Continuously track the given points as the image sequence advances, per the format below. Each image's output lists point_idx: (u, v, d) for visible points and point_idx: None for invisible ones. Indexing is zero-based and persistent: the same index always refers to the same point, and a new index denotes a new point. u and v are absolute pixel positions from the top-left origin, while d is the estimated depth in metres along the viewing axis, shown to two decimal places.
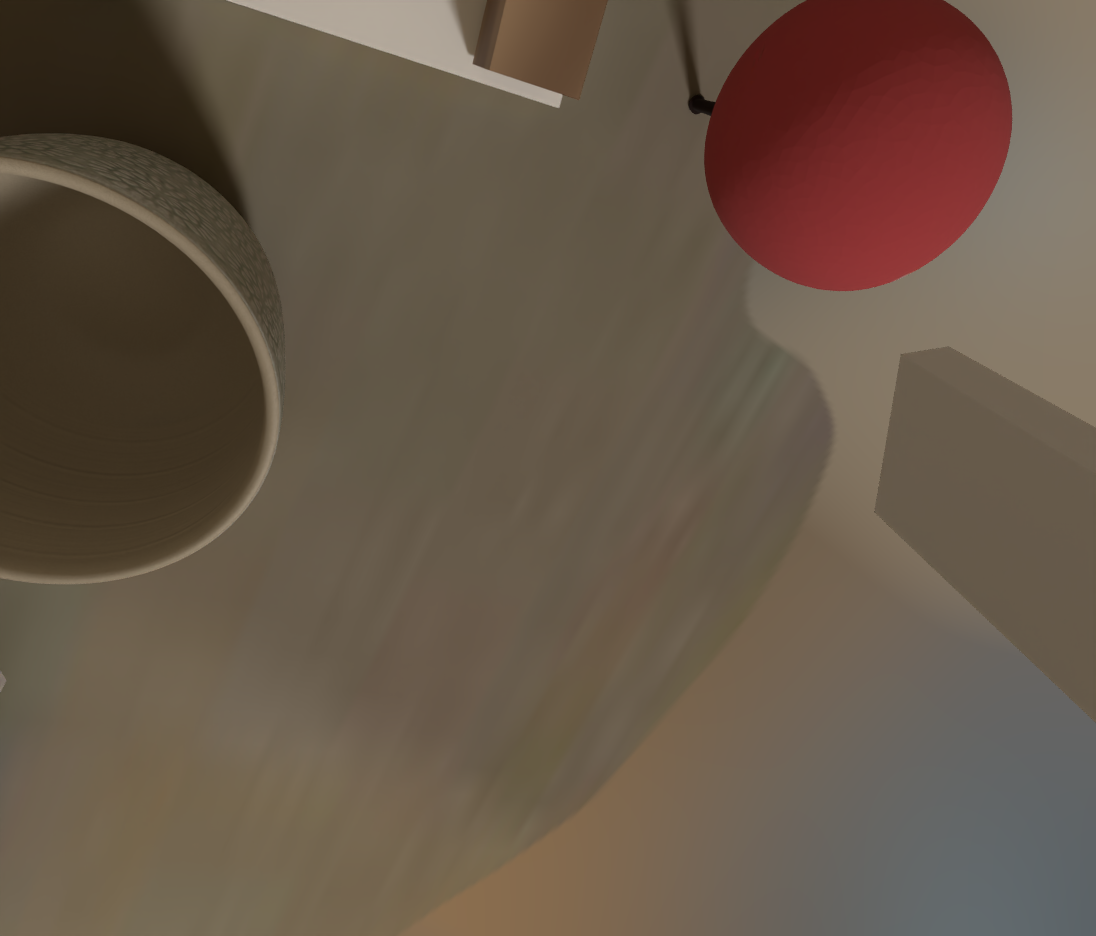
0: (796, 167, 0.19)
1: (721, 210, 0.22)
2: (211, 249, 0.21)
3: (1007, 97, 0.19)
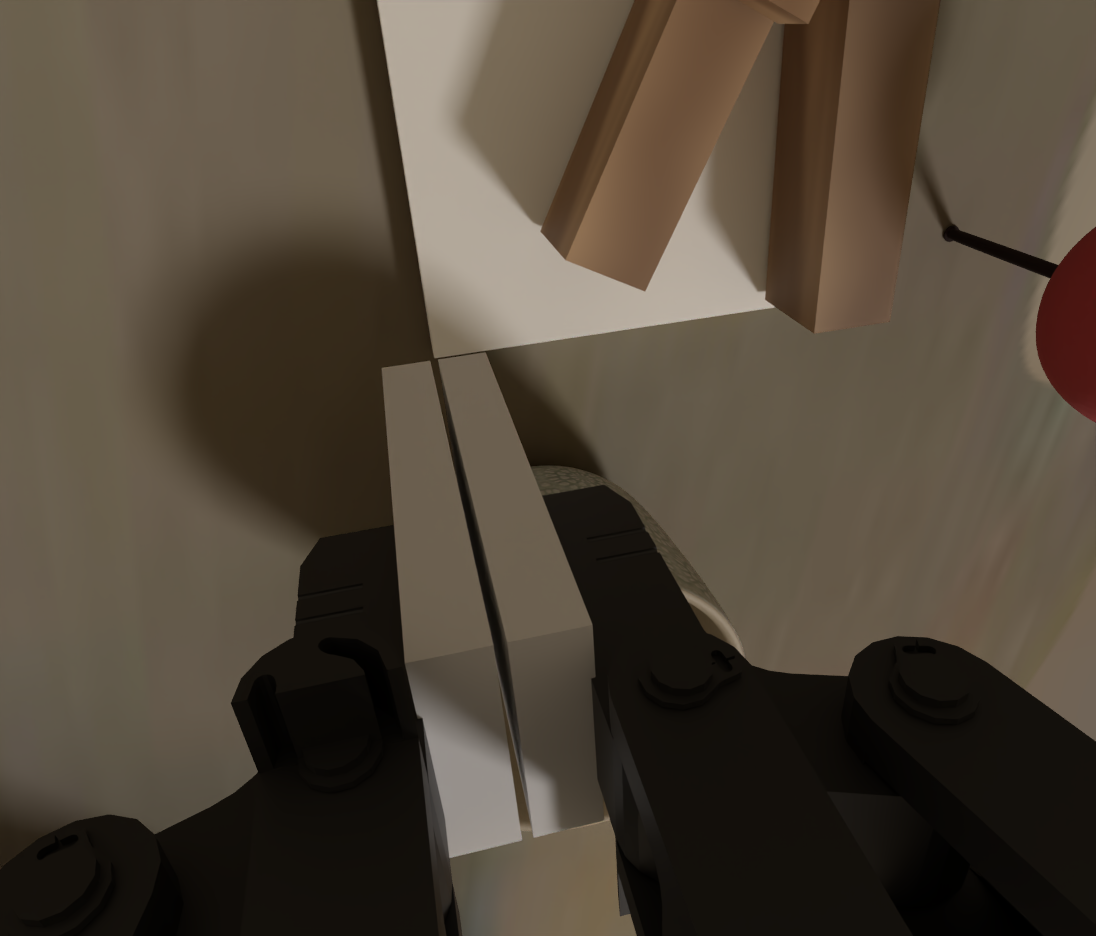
0: None
1: (1078, 408, 0.25)
2: (681, 579, 0.27)
3: None
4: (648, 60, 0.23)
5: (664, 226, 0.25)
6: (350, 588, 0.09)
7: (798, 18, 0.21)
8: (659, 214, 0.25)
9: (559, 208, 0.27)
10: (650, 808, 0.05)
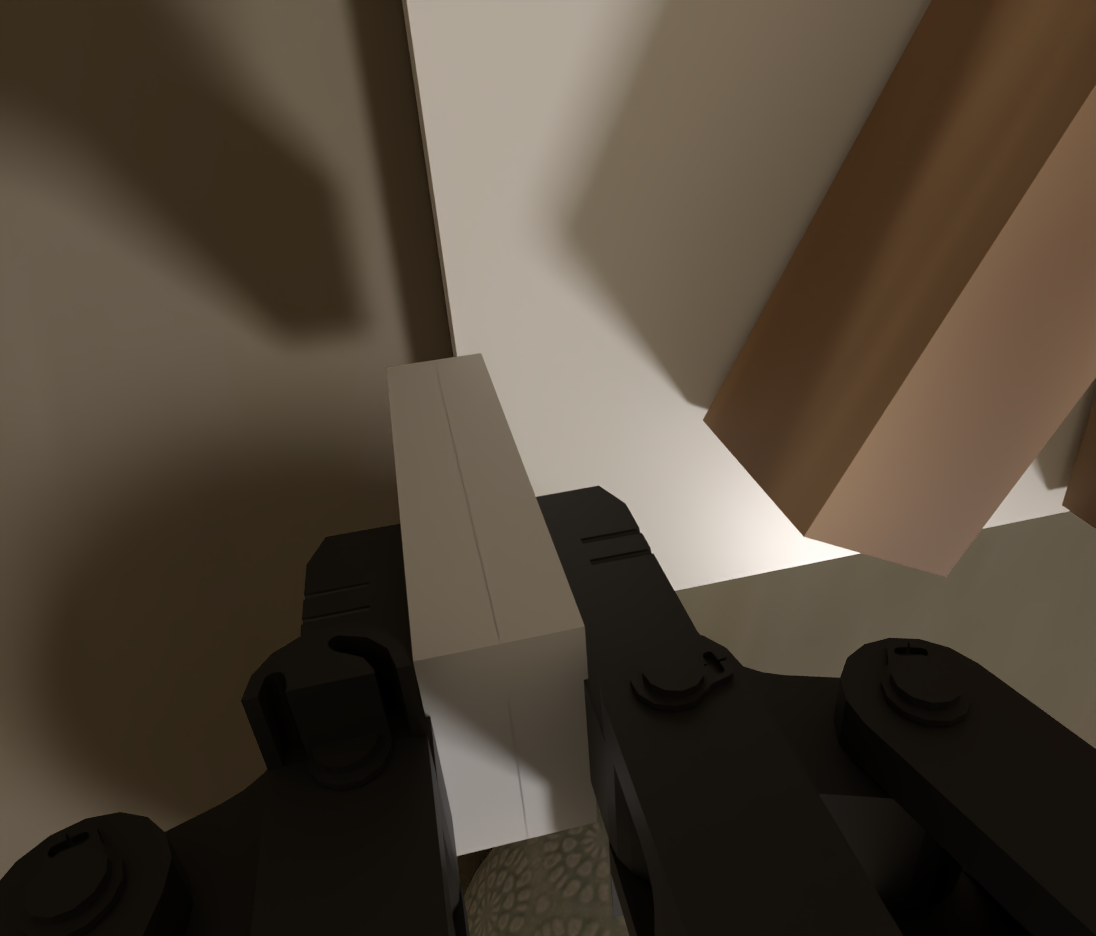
0: None
1: None
2: None
3: None
4: (1059, 120, 0.10)
5: (1011, 462, 0.12)
6: (356, 587, 0.09)
7: None
8: (1007, 440, 0.12)
9: (757, 394, 0.14)
10: (641, 811, 0.05)
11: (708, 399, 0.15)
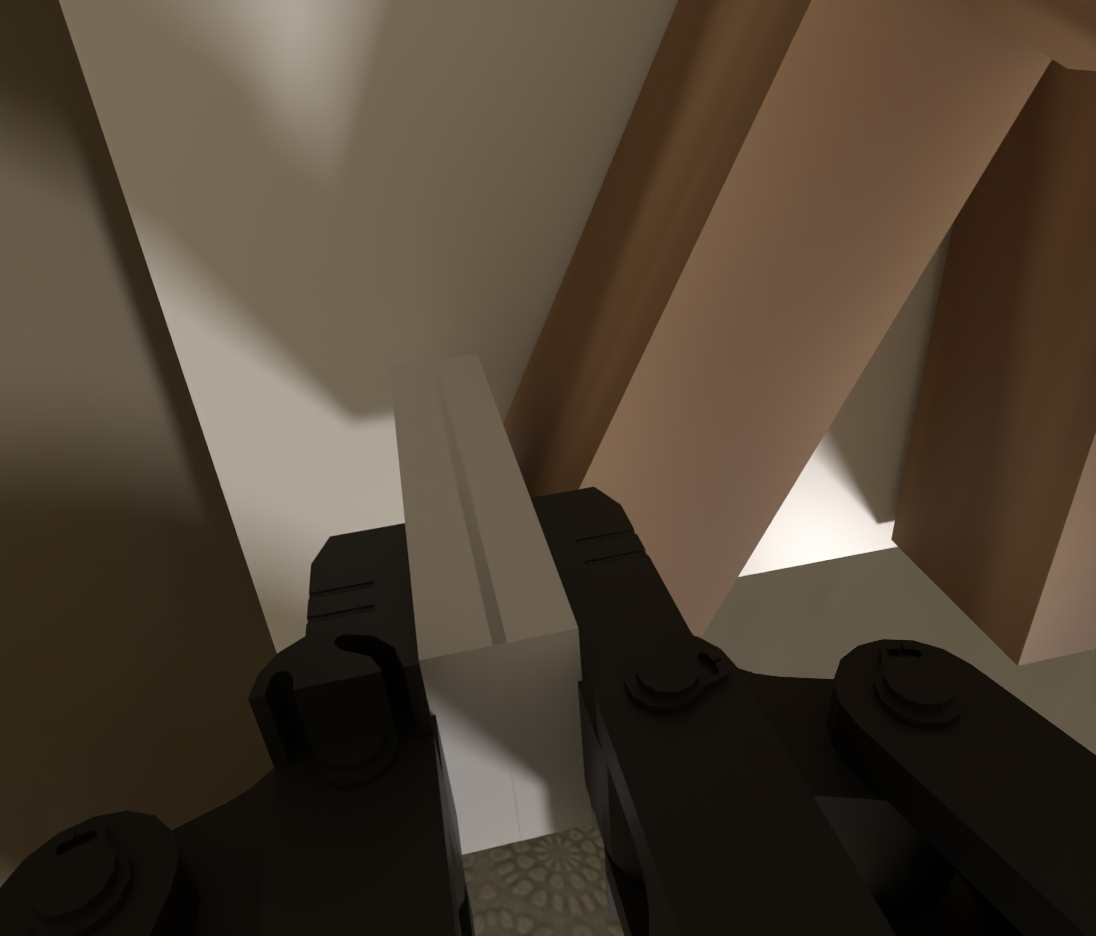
0: None
1: None
2: None
3: None
4: (722, 170, 0.09)
5: (747, 521, 0.11)
6: (361, 586, 0.09)
7: None
8: (737, 499, 0.11)
9: (519, 442, 0.13)
10: (635, 812, 0.05)
11: None
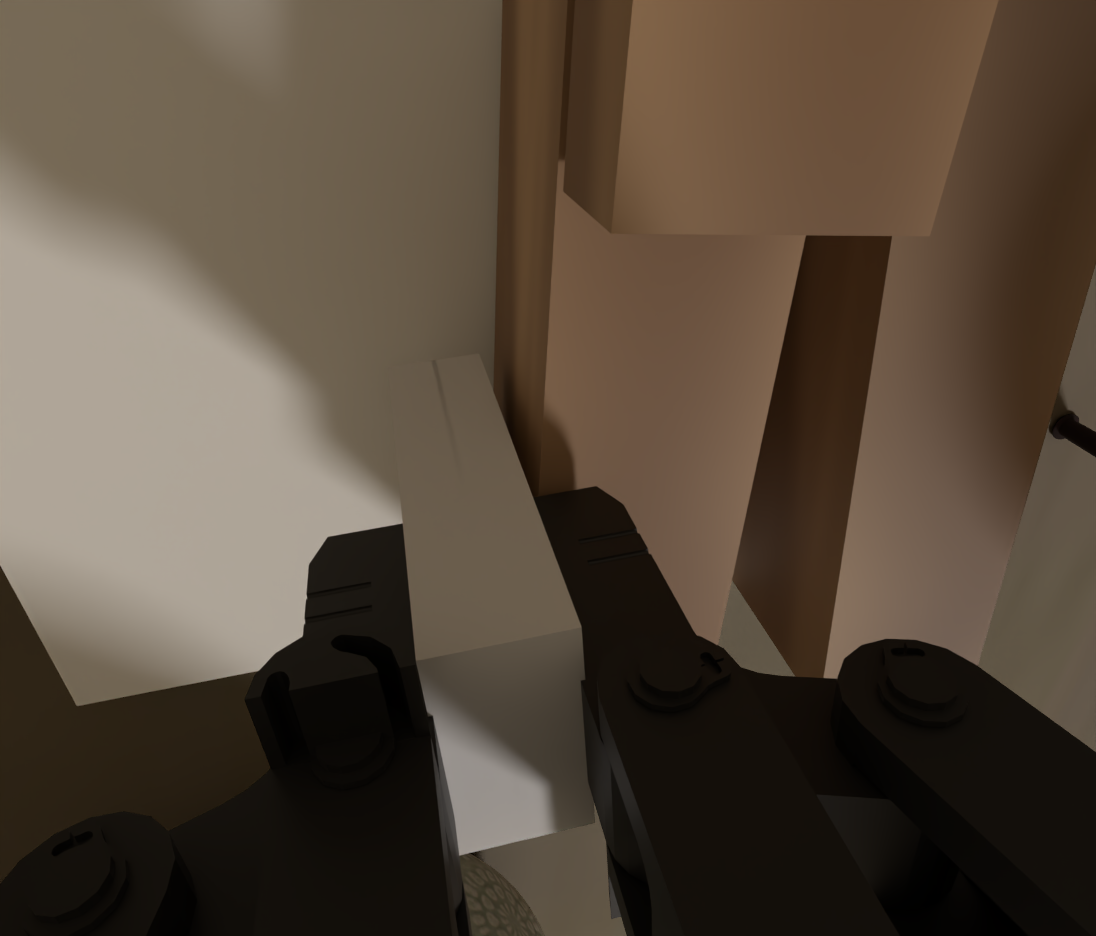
0: None
1: None
2: None
3: None
4: (542, 383, 0.10)
5: (700, 627, 0.12)
6: (359, 586, 0.09)
7: (895, 234, 0.07)
8: None
9: None
10: (638, 812, 0.05)
11: (260, 467, 0.14)
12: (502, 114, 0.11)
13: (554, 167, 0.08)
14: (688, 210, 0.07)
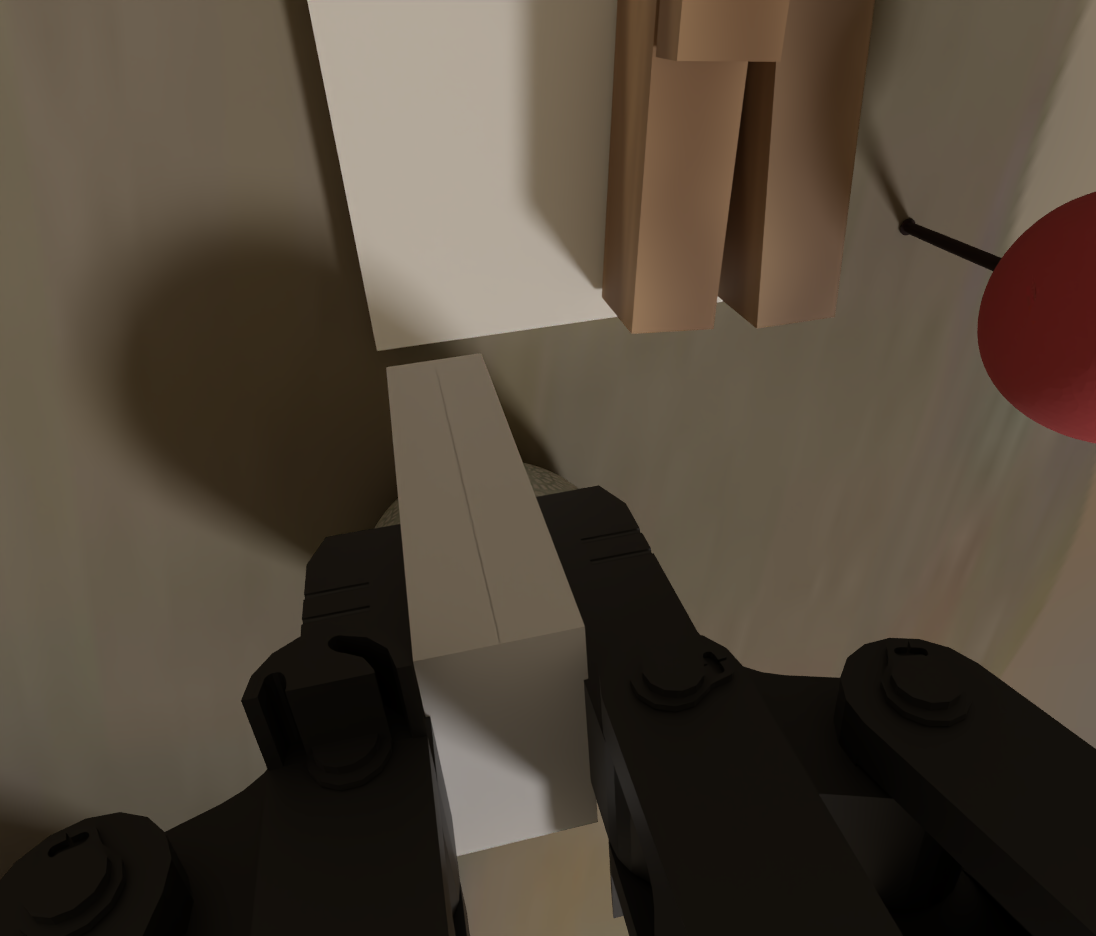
0: None
1: (1016, 406, 0.25)
2: None
3: None
4: (644, 141, 0.24)
5: (710, 269, 0.26)
6: (357, 587, 0.09)
7: (769, 61, 0.22)
8: (702, 261, 0.26)
9: (611, 277, 0.29)
10: (641, 811, 0.05)
11: (484, 212, 0.28)
12: (617, 39, 0.26)
13: (650, 49, 0.23)
14: (700, 52, 0.21)
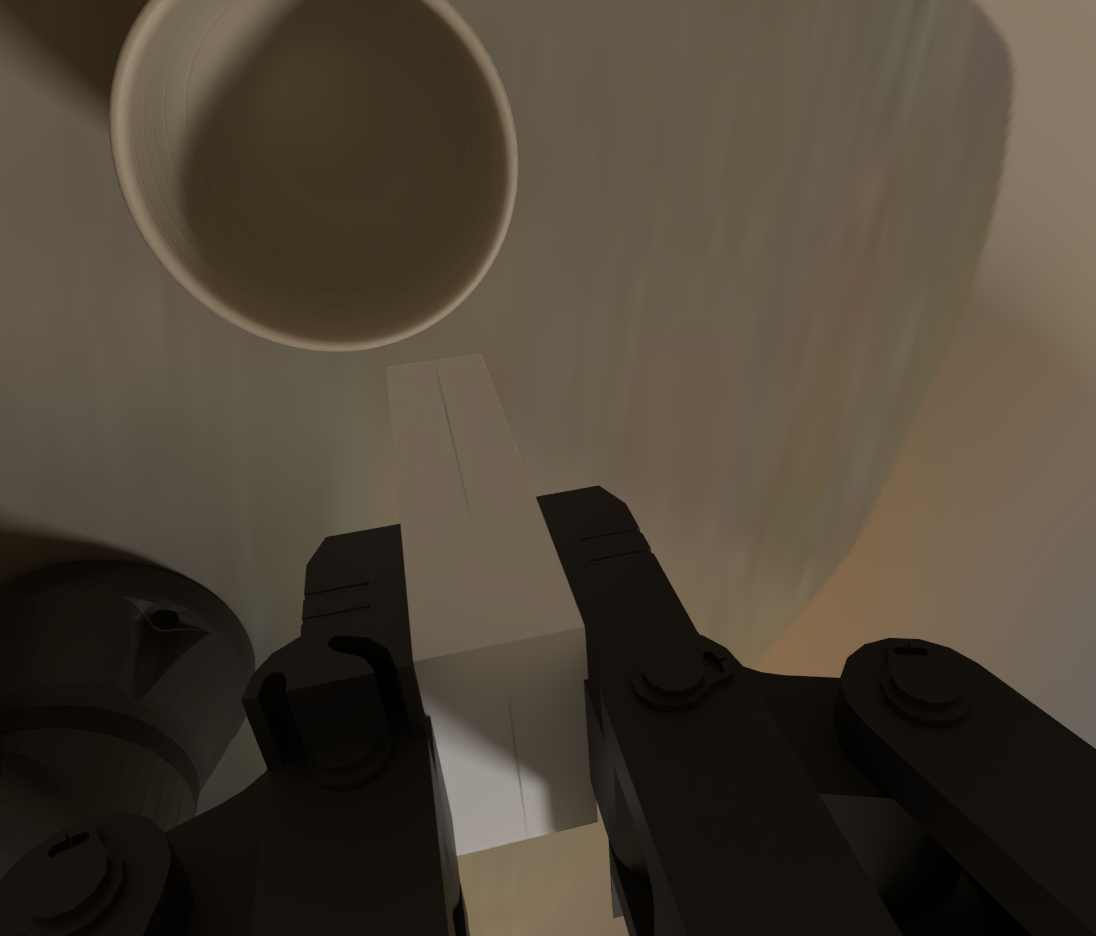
0: None
1: None
2: None
3: None
4: None
5: None
6: (356, 587, 0.09)
7: None
8: None
9: None
10: (641, 811, 0.05)
11: None
12: None
13: None
14: None
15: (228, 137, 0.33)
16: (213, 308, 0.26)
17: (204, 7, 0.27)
